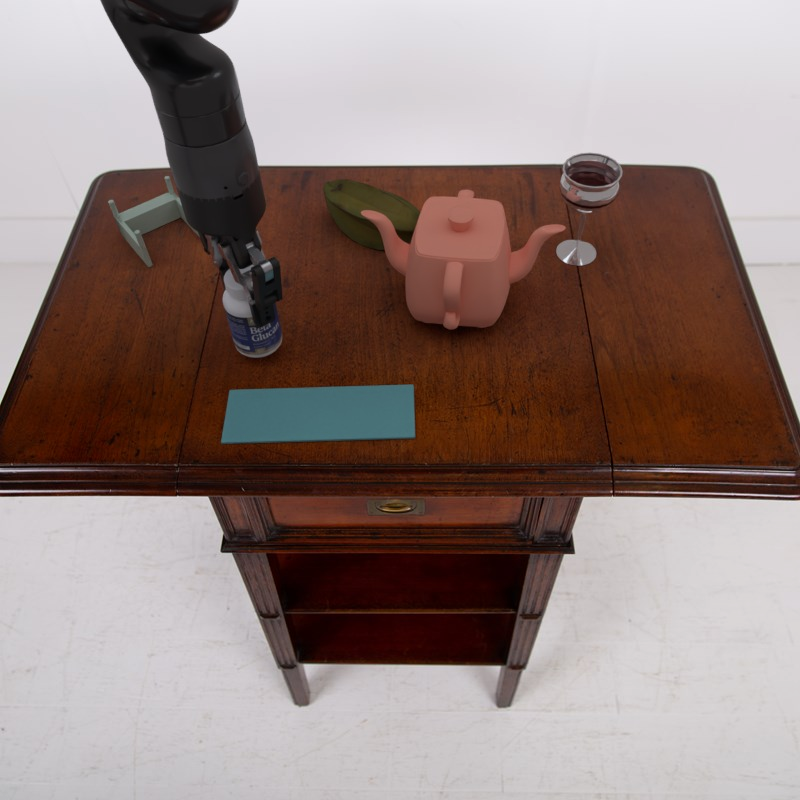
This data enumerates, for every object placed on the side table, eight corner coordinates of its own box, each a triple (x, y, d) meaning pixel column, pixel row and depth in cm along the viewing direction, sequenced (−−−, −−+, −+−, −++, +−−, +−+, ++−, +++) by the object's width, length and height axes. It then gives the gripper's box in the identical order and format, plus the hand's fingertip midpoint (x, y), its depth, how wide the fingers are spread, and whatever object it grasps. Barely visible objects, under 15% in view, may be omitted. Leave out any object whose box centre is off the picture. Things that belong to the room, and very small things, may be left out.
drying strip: (221, 444, 78) (220, 442, 78) (230, 391, 82) (229, 389, 82) (415, 438, 78) (415, 437, 77) (413, 386, 82) (413, 384, 82)
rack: (208, 240, 98) (198, 206, 94) (148, 268, 95) (135, 234, 91) (178, 208, 103) (167, 174, 98) (120, 234, 100) (106, 200, 95)
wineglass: (591, 230, 97) (608, 148, 88) (612, 264, 93) (633, 182, 84) (540, 240, 96) (553, 157, 87) (560, 275, 92) (575, 192, 83)
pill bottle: (260, 366, 82) (243, 302, 75) (225, 345, 84) (205, 280, 77) (293, 337, 85) (280, 271, 77) (258, 317, 87) (242, 251, 79)
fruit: (339, 268, 94) (333, 226, 89) (324, 210, 101) (319, 167, 96) (428, 253, 95) (428, 211, 90) (407, 196, 103) (406, 154, 97)
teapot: (366, 290, 91) (358, 204, 82) (476, 238, 97) (481, 152, 87) (438, 367, 84) (439, 282, 74) (553, 306, 89) (568, 219, 79)
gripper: (141, 150, 69) (187, 286, 83) (218, 227, 62) (254, 363, 75) (213, 120, 72) (247, 257, 85) (295, 191, 65) (317, 328, 78)
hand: (250, 306), depth 80 cm, fingers closed on pill bottle, 5 cm apart
